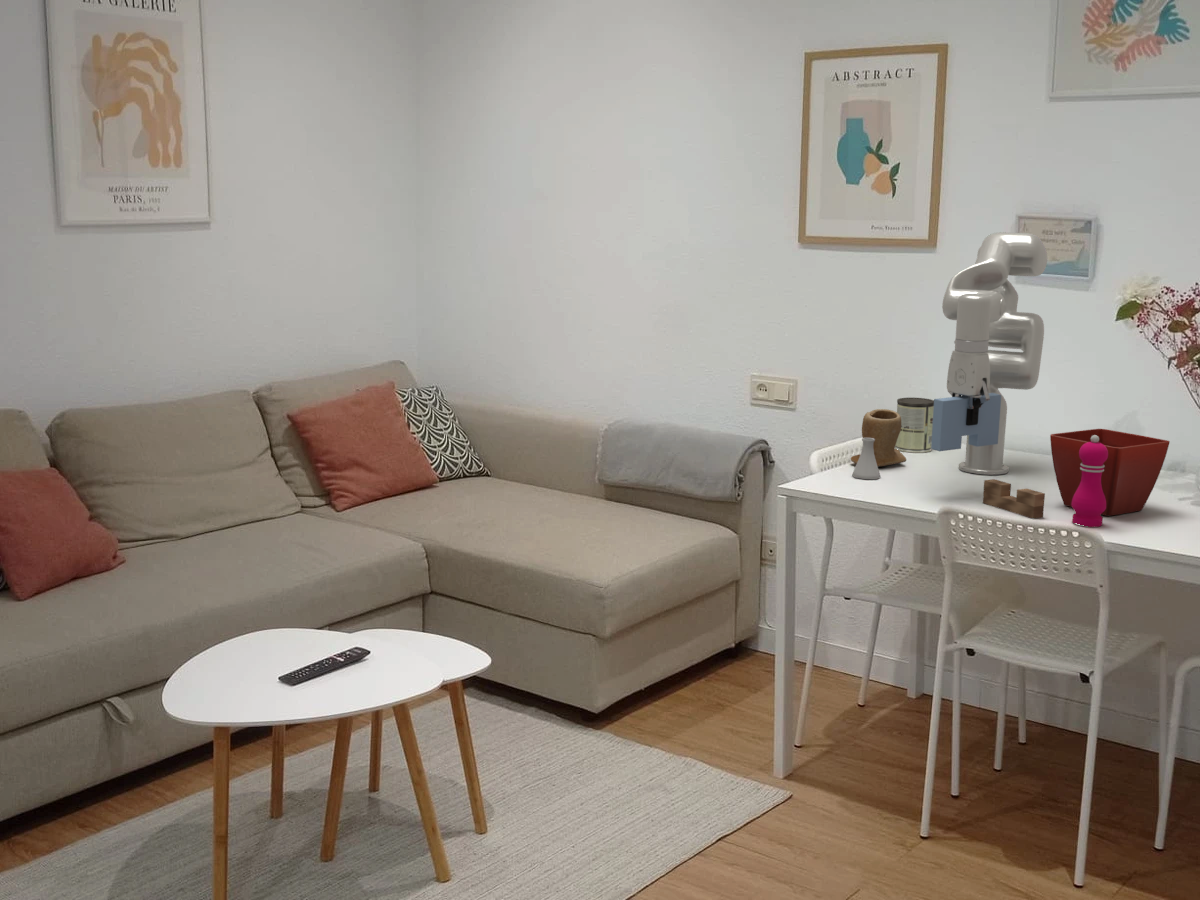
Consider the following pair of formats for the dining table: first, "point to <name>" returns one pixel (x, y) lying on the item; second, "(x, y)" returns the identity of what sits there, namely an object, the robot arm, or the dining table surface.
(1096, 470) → the pepper mill
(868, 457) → the flask
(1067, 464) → the plant pot
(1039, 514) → the walnut u-shaped block
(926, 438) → the coffee can
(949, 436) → the blue notched block
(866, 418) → the stone cup
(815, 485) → the dining table surface
